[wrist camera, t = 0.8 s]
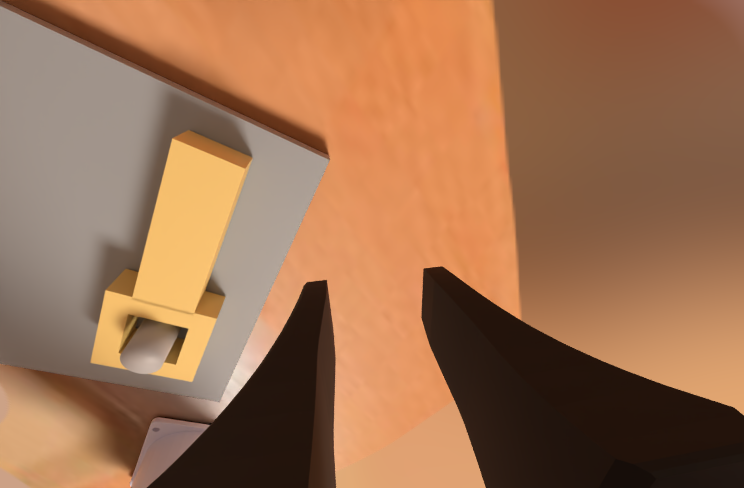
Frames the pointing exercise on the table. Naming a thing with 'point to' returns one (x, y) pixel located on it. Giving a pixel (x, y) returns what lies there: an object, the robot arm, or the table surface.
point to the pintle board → (122, 206)
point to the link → (177, 256)
